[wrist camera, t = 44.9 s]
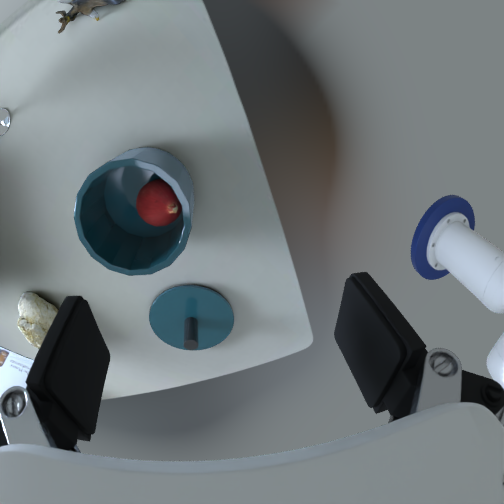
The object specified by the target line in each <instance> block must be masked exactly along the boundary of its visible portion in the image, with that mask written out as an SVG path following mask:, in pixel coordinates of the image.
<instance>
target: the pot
mask: <svg viewBox="0 0 504 504" xmlns="http://www.w3.org/2000/svg"><path fill="white" fill-rule="evenodd" d="M156 179H163V180H164V181H165V182H167V183H168V184H169V185H170V186H171V187H172V189H173V190H174V192H175V194H176V196H177V198H178V200H179V201H180V203H181V205H182V211H181V213H180V215H179V217H178V218H177V219H176V220H175V221H174V222H172V223H170V224H168V225H166V226H153V225H150V224H148V223H146V222H145V221H144V220H143V219H142V218H141V217H140V216H139V214H138V211H137V208H136V199H137V196H138V194H139V191H140V189H141V188H142V187H143V186H144V185H145V184H147V183H149V182H151V181H153V180H156ZM193 210H194V188H193V181H192V180H191V177H190V175H189V173H188V171H187V169H186V168H185V166H184V165H183V164H182V163H181V162H180V161H179V160H178V159H177V158H176V157H174V156H173V155H172V154H170V153H169V152H166V151H164V150H161V149H157V148H152V147H141V148H136V149H130V150H128V151H126V152H124V153H123V154H121V155H119V156H117V157H116V158H114V159H112V160H110V161H109V162H107V163H106V164H104V165H103V166H101V167H100V168H98V169H97V170H95V171H94V172H92V173H91V174H89V176H88V177H87V179H86V180H85V182H84V183H83V185H82V187H81V188H80V190H79V192H78V193H77V197H76V204H75V211H74V220H75V225H76V229H77V233H78V236H79V239H80V241H81V242H82V244H83V245H84V247H85V248H86V250H87V251H88V253H89V254H90V255H91V257H92V258H94V259H95V260H96V261H98V262H99V263H101V264H102V265H103V266H105V267H106V268H108V269H110V270H112V271H115V272H119V273H122V274H126V275H129V276H133V275H147V274H153V273H155V272H157V271H159V270H161V269H164V268H166V267H168V266H170V265H171V264H172V263H173V262H174V261H175V259H176V258H177V257H178V256H179V255H180V254H181V253H182V252H183V250H184V249H185V247H186V244H187V240H188V237H189V234H190V231H191V228H192V219H193Z"/></svg>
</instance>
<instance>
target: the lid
mask: <svg viewBox="0 0 504 504" xmlns="http://www.w3.org/2000/svg"><path fill="white" fill-rule="evenodd" d="M149 321H150V325H151V327H152V329H153V331H154V333H155V334H156V335H157V336H158V337H159V338H160V339H161V340H162V341H164V342H165V343H167V344H169V345H171V346H173V347H176V348H179V349H184V350H203V349H207V348H210V347H213V346H215V345H217V344H219V343H221V342H222V341H223V340H224V339H225V338H226V337H227V336H228V335H229V334H230V332H231V330H232V328H233V324H234V316H233V311H232V308H231V306H230V304H229V303H228V302H227V300H226V299H225V298H224V297H223V296H221V295H220V294H219V293H217V292H215V291H213V290H211V289H209V288H206V287H202V286H196V285H183V286H177V287H174V288H171V289H168V290H166V291H165V292H163V293H162V294H160V295H159V296H158V297H157V298H156V299H155V301H154V302H153V304H152V306H151V309H150V314H149Z"/></svg>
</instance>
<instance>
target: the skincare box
mask: <svg viewBox="0 0 504 504" xmlns="http://www.w3.org/2000/svg"><path fill="white" fill-rule="evenodd" d="M33 362H34V360H31V359H29V358H26V357H23V356H21V355H19V354H16V353H14V352H11V351H9V350H7V349H4V348H2V347H0V398H1V396H2V394H3V393H4V392H5V391H6V390H7V389H9V388H10V387H13V386H21V387H24V388H25V389H26V387H27V384H26V383H25V381H26V379H27V376H28V374H29V371H30V369H31V367H32V364H33Z"/></svg>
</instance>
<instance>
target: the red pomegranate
mask: <svg viewBox="0 0 504 504" xmlns="http://www.w3.org/2000/svg"><path fill="white" fill-rule="evenodd" d="M136 208H137V211H138V214H139V216H140V217H141V218H142V219H143V220H144V221H145V222H146V223H148V224H150V225H153V226H166V225H168V224H170V223H172V222H174V221H175V220H176V219H177V218H178V217H179V215H180V213H181V211H182V205H181V203H180V201H179V200H178V198H177V196H176V194H175V192H174V190H173V189H172V187H171V186H170V185H169V184H168V183H167V182H165V181H164V180H163V179H156V180H153V181H151V182H149V183H147V184H145V185H144V186H143V187H142V188H141V189H140V191H139V194H138V196H137V199H136Z"/></svg>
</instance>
